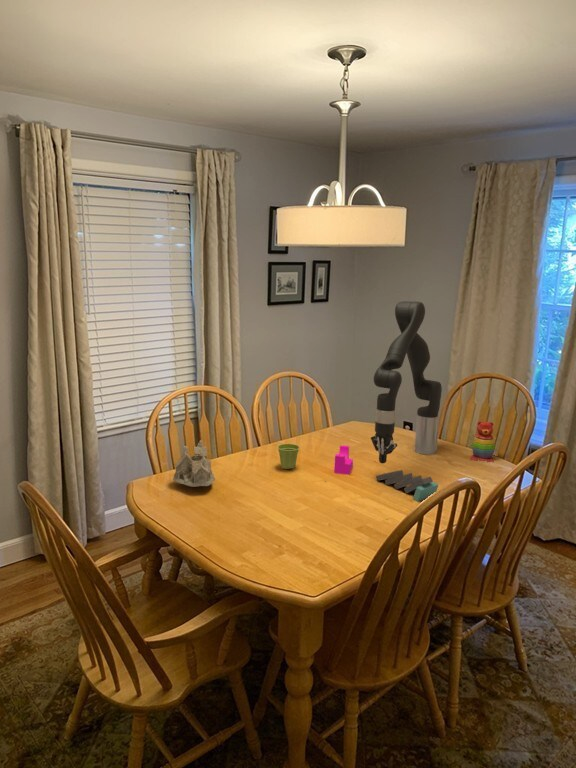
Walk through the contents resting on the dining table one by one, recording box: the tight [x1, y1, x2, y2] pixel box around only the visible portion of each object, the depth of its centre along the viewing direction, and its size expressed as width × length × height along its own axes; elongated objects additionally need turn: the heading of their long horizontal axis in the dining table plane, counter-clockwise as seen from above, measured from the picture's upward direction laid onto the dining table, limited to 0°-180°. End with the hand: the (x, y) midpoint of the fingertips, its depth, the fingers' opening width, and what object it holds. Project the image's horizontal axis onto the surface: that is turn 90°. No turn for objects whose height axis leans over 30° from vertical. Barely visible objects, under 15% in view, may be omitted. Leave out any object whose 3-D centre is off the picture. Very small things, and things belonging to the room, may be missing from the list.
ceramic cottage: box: [172, 439, 215, 488], centre depth 215 cm, size 16×16×15 cm
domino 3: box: [393, 475, 423, 490], centre depth 212 cm, size 2×5×10 cm
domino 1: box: [375, 469, 404, 482], centre depth 220 cm, size 2×5×10 cm
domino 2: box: [384, 472, 414, 486], centre depth 216 cm, size 2×5×10 cm
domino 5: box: [412, 481, 439, 502], centre depth 206 cm, size 2×5×10 cm
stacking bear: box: [469, 421, 496, 463], centre depth 247 cm, size 11×10×18 cm
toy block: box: [333, 445, 354, 476], centre depth 235 cm, size 15×6×8 cm, turn 166°
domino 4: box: [403, 476, 434, 494], centre depth 208 cm, size 2×5×10 cm
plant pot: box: [276, 443, 300, 470], centre depth 234 cm, size 9×9×9 cm
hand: (382, 462), depth 222 cm, fingers closed
